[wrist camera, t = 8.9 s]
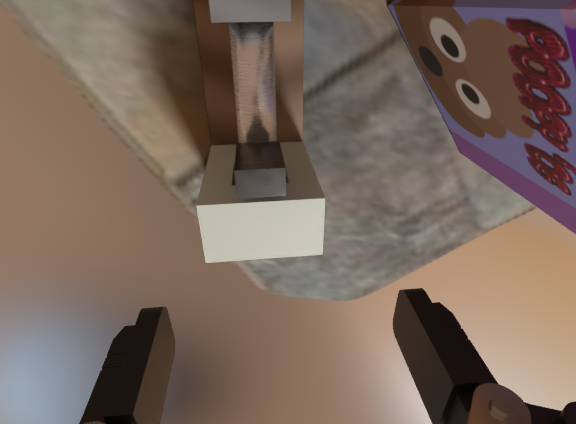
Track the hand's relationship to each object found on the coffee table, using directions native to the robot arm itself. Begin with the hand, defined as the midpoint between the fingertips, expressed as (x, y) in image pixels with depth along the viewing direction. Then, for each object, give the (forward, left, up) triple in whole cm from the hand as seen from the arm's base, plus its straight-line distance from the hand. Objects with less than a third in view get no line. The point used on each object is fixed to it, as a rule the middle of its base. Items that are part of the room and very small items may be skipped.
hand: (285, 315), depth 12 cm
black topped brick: (-2, -1, -19) cm, 20 cm away
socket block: (+5, -1, -26) cm, 27 cm away
